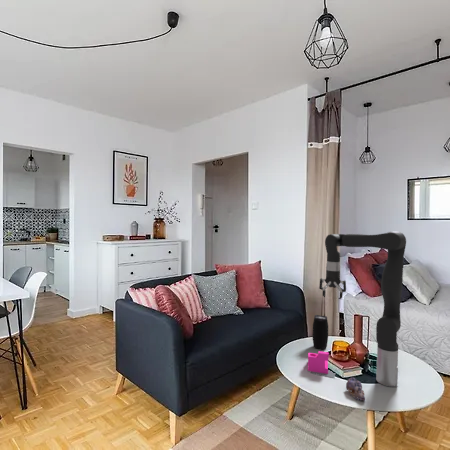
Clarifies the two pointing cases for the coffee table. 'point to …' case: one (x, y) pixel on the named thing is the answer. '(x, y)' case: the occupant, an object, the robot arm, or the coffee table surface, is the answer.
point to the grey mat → (330, 374)
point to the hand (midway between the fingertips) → (332, 297)
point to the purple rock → (355, 389)
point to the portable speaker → (320, 332)
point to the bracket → (318, 362)
